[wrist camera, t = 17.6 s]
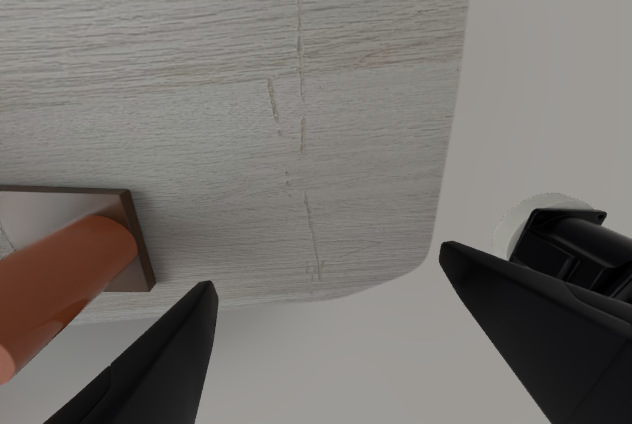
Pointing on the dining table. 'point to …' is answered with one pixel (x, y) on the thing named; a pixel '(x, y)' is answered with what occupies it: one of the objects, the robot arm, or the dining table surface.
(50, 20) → the dining table surface
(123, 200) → the plate
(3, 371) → the orange cylinder
